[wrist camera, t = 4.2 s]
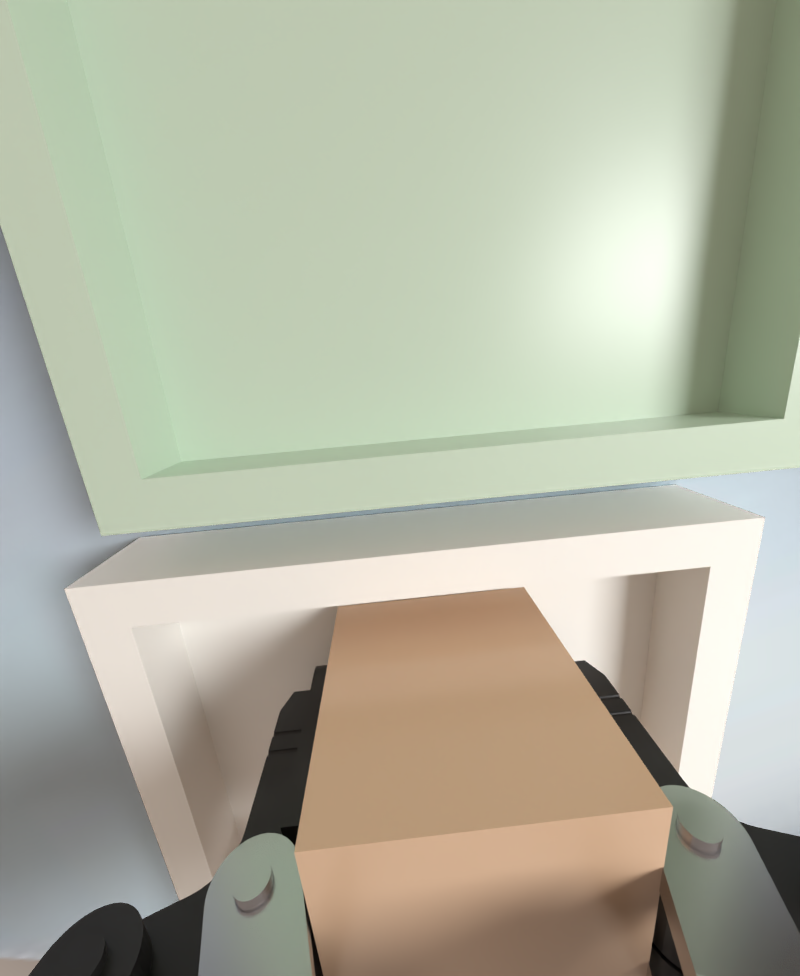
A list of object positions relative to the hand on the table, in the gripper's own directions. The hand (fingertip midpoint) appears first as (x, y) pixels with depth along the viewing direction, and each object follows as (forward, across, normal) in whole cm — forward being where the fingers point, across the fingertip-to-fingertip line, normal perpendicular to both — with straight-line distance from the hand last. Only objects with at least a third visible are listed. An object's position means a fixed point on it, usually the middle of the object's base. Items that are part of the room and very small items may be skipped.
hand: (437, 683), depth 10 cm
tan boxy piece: (0, 0, 0) cm, 0 cm away
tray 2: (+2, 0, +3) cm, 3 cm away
